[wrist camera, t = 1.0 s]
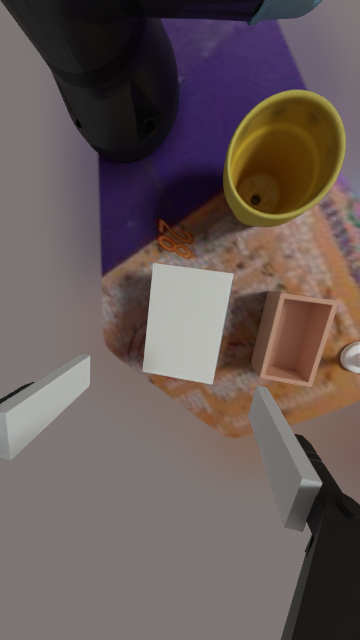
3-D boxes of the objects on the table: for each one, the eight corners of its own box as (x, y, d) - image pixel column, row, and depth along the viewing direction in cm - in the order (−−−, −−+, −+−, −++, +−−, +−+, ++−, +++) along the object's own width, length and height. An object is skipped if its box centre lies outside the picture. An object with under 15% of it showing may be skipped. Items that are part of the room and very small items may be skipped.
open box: (267, 291, 29) (281, 292, 24) (315, 297, 28) (339, 301, 23) (250, 362, 31) (259, 377, 26) (294, 370, 30) (311, 387, 26)
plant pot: (260, 255, 28) (290, 240, 18) (203, 214, 28) (204, 179, 18) (310, 188, 25) (375, 131, 16) (248, 143, 25) (276, 59, 16)
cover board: (156, 264, 25) (153, 263, 23) (231, 274, 24) (233, 273, 22) (145, 366, 28) (142, 371, 27) (211, 378, 27) (212, 384, 26)
